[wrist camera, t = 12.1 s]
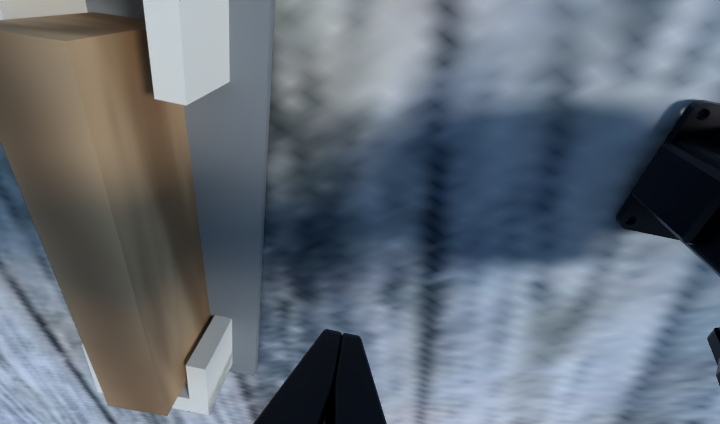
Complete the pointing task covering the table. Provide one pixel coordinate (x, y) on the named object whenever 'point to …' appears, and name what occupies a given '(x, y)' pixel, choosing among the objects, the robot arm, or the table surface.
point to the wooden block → (108, 196)
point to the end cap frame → (210, 156)
